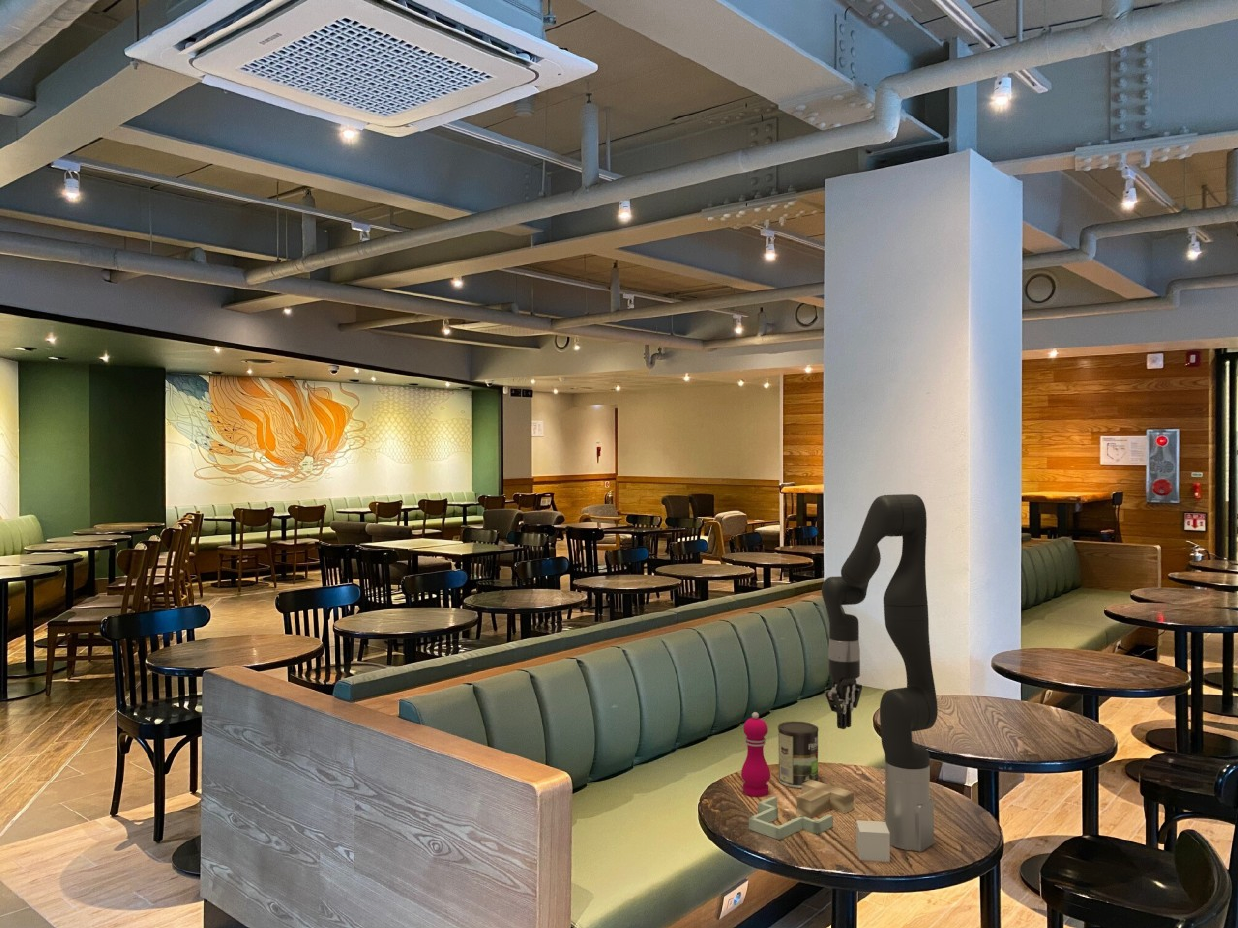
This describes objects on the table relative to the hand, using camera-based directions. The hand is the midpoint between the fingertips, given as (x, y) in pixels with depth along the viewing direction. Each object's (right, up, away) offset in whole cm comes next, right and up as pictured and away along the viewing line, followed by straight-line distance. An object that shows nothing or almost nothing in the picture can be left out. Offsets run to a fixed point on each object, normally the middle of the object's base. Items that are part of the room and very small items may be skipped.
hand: (844, 727), depth 219 cm
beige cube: (-2, -17, -33) cm, 37 cm away
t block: (-8, -17, -8) cm, 21 cm away
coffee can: (-9, -17, +10) cm, 22 cm away
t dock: (-18, -17, -18) cm, 31 cm away
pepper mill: (-21, -17, +3) cm, 28 cm away
